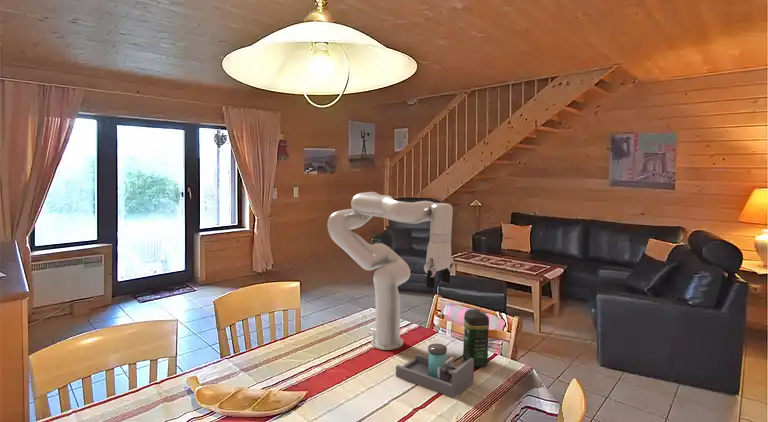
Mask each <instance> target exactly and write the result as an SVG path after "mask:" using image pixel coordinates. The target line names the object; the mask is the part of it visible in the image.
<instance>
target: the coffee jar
mask: <svg viewBox="0 0 768 422" xmlns="http://www.w3.org/2000/svg"><path fill="white" fill-rule="evenodd" d="M463 325H464V326H463V327H464V329H463V331H464V332H463V349H462V352H463V353H462V358H463V361H464V362H465V361H467V360H468V359H469V358H473V359H474V367H475V368H483V367H485V366H487V365H488V362H489V361H488V359H489V355H488V354H489V328H490V317H489V316H488V314H486V313H485V312H483V311H482V310H480V309H476V308H475V309H474V308H471V309H469V308H468V309H467V310H466V311H465V312H464V316H463Z"/></svg>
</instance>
